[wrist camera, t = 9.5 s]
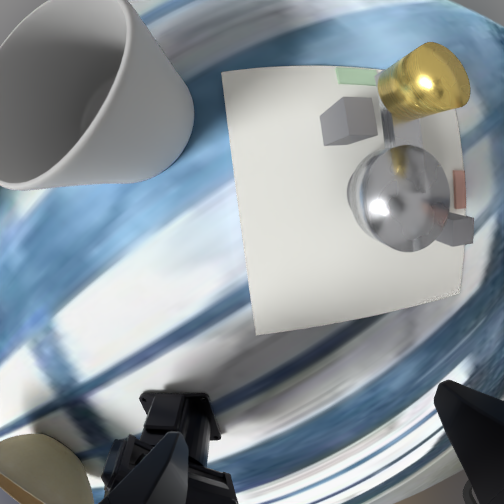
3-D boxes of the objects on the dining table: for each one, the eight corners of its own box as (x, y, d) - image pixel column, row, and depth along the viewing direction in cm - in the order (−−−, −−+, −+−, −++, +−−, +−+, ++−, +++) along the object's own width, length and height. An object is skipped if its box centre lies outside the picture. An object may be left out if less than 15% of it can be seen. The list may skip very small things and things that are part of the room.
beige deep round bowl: (86, 488, 29) (68, 534, 17) (6, 424, 25) (-24, 466, 13) (133, 476, 26) (114, 542, 14) (26, 393, 23) (-20, 452, 11)
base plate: (454, 290, 20) (491, 314, 15) (255, 329, 20) (258, 375, 15) (443, 84, 16) (484, 69, 11) (222, 76, 16) (213, 40, 11)
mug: (194, 58, 16) (149, -43, 5) (198, 175, 18) (135, 167, 7) (53, 96, 15) (-44, 67, 5) (53, 198, 17) (-56, 221, 7)
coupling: (427, 239, 15) (493, 266, 9) (350, 246, 15) (405, 284, 9) (416, 86, 13) (478, 59, 7) (336, 76, 13) (382, 28, 7)
